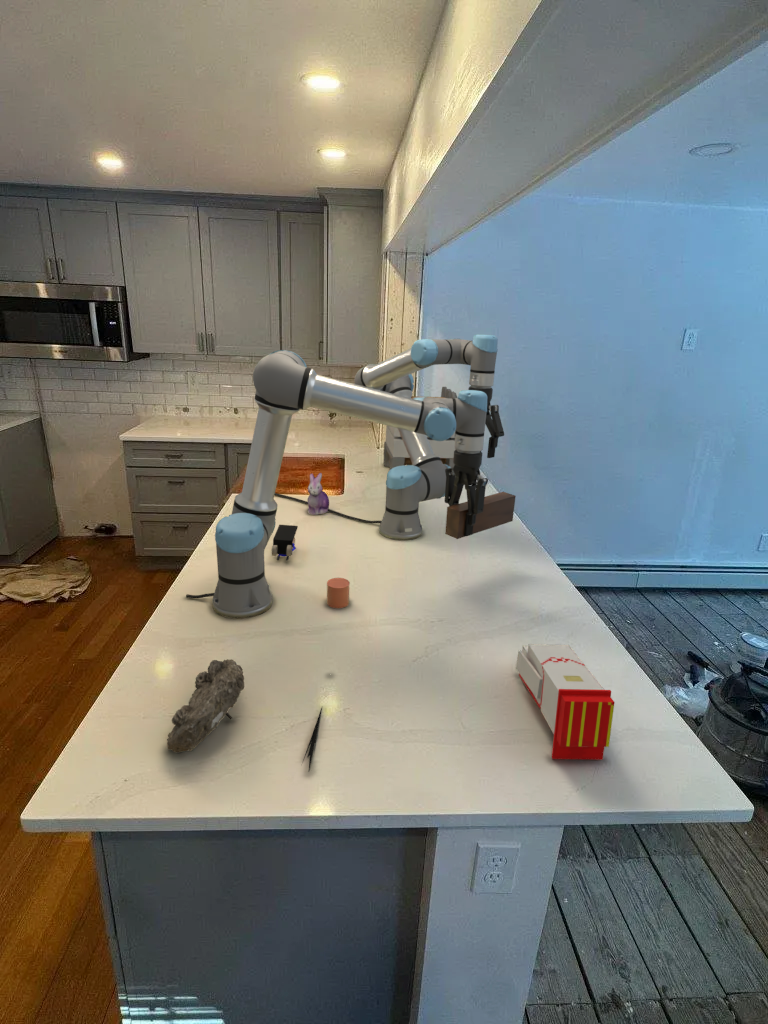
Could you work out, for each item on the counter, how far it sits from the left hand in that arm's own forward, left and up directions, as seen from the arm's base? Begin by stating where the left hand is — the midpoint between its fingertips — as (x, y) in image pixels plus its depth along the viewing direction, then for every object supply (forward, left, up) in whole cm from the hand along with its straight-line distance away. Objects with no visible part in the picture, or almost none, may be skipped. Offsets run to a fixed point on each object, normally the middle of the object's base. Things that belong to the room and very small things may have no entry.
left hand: (460, 532), depth 158 cm
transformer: (-31, +115, -17) cm, 120 cm away
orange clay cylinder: (-29, -19, -17) cm, 39 cm away
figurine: (-58, +46, -17) cm, 76 cm away
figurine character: (-55, +5, -17) cm, 58 cm away
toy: (+25, -48, -17) cm, 57 cm away
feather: (-19, -64, -17) cm, 69 cm away
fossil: (-39, -69, -17) cm, 81 cm away
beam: (+5, +6, 0) cm, 8 cm away
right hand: (-1, +34, +15) cm, 37 cm away
